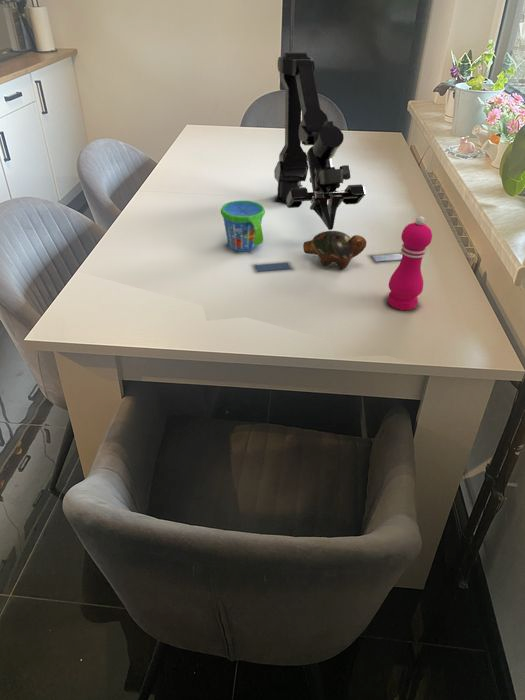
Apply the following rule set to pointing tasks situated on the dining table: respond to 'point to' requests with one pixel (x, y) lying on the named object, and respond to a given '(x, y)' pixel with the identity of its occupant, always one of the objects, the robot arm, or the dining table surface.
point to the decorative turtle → (335, 247)
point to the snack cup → (243, 224)
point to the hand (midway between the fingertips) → (331, 229)
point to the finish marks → (285, 266)
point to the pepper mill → (410, 266)
